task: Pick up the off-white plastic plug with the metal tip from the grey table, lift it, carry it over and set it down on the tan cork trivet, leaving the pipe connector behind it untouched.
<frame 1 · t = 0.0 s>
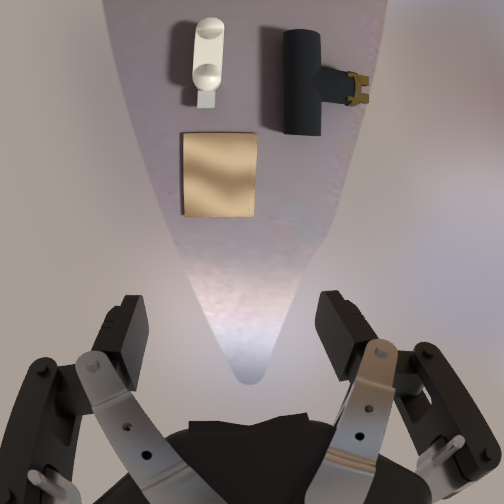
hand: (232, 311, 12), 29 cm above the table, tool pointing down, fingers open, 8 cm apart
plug: (209, 58, 30), on the table
trivet: (219, 174, 38), on the table
pipe connector: (318, 87, 34), on the table
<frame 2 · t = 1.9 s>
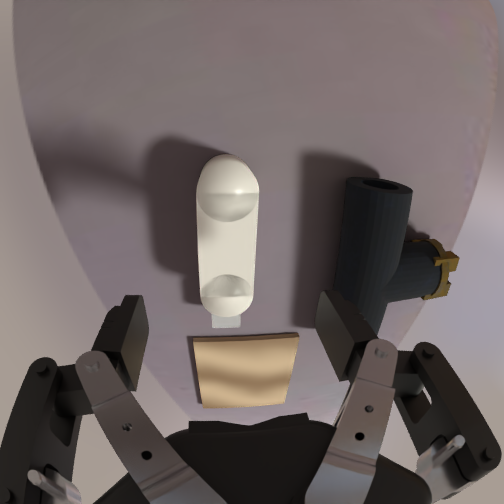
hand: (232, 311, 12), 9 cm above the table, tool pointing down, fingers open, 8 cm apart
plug: (224, 225, 20), on the table
trivet: (244, 374, 28), on the table
pipe connector: (381, 257, 24), on the table
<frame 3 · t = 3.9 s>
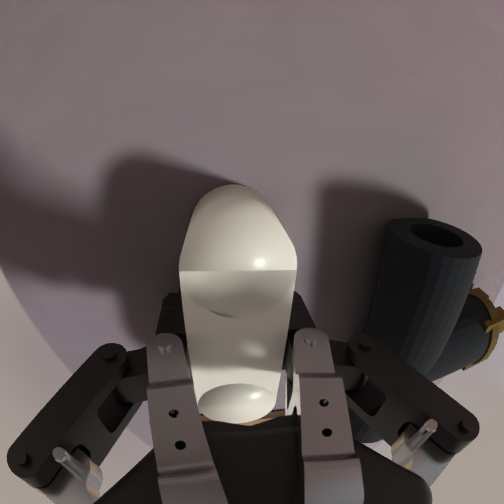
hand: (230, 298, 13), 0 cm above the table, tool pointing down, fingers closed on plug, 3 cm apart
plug: (231, 294, 13), on the table, touching gripper
pipe connector: (416, 316, 17), on the table
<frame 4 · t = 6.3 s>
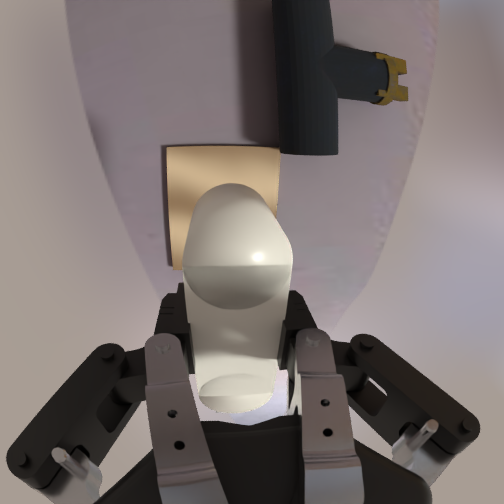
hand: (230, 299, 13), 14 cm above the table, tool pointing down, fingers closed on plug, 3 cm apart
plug: (230, 288, 14), point 13 cm above the table, touching gripper
trivet: (222, 209, 26), on the table
pipe connector: (329, 76, 22), on the table
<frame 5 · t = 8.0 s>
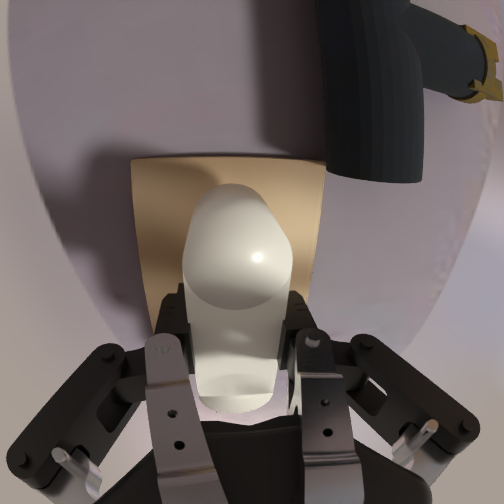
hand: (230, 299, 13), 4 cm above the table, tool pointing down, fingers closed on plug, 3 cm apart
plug: (230, 288, 14), point 3 cm above the table, touching gripper
trivet: (227, 261, 16), on the table
pipe connector: (391, 52, 12), on the table
when the fingers open (2 cm above the table, at t = 9.1 s): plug stays where it is, resting on trivet.
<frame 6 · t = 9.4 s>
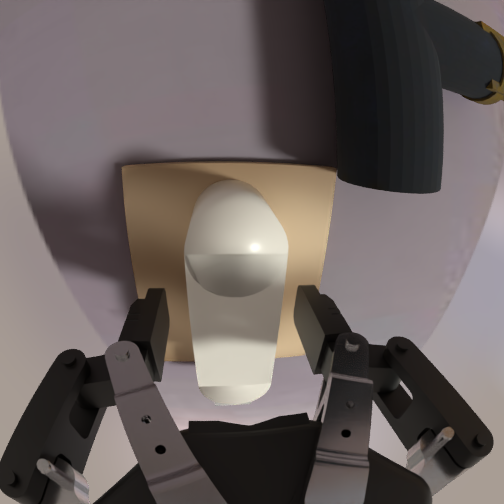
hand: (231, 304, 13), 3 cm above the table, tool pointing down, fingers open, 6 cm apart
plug: (229, 281, 14), point 1 cm above the table, touching trivet
trivet: (228, 275, 15), on the table
pipe connector: (402, 49, 11), on the table
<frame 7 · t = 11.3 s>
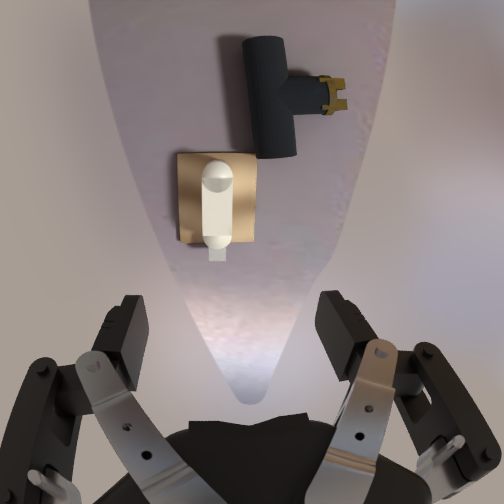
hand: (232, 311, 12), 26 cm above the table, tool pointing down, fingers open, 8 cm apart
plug: (217, 199, 35), point 1 cm above the table, touching trivet
trivet: (216, 198, 36), on the table
pipe connector: (290, 97, 32), on the table
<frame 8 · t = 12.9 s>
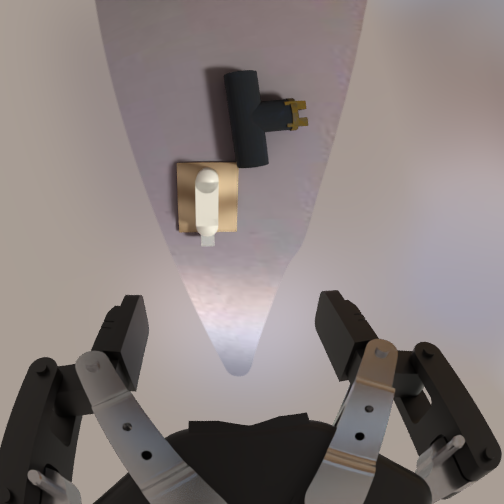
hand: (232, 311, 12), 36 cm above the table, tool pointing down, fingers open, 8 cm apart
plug: (207, 198, 45), point 1 cm above the table, touching trivet
trivet: (207, 197, 46), on the table
pipe connector: (264, 117, 42), on the table
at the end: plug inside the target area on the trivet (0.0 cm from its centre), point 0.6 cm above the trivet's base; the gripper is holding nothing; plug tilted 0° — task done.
